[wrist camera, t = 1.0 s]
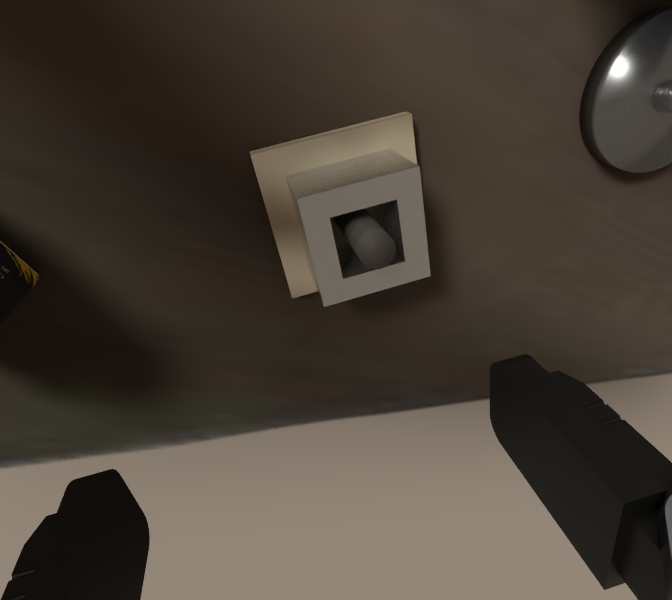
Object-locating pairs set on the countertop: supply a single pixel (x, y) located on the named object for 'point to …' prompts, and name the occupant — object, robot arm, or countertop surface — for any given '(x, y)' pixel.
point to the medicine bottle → (13, 281)
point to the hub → (632, 97)
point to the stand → (351, 227)
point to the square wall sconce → (351, 195)
